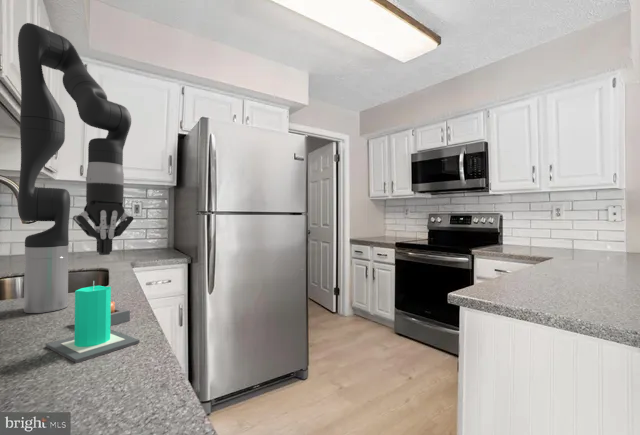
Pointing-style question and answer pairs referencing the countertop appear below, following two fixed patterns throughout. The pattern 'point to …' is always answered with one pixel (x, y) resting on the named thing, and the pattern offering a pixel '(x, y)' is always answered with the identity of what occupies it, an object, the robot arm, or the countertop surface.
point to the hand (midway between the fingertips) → (104, 254)
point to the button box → (120, 316)
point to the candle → (92, 315)
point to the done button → (112, 307)
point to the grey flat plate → (91, 347)
